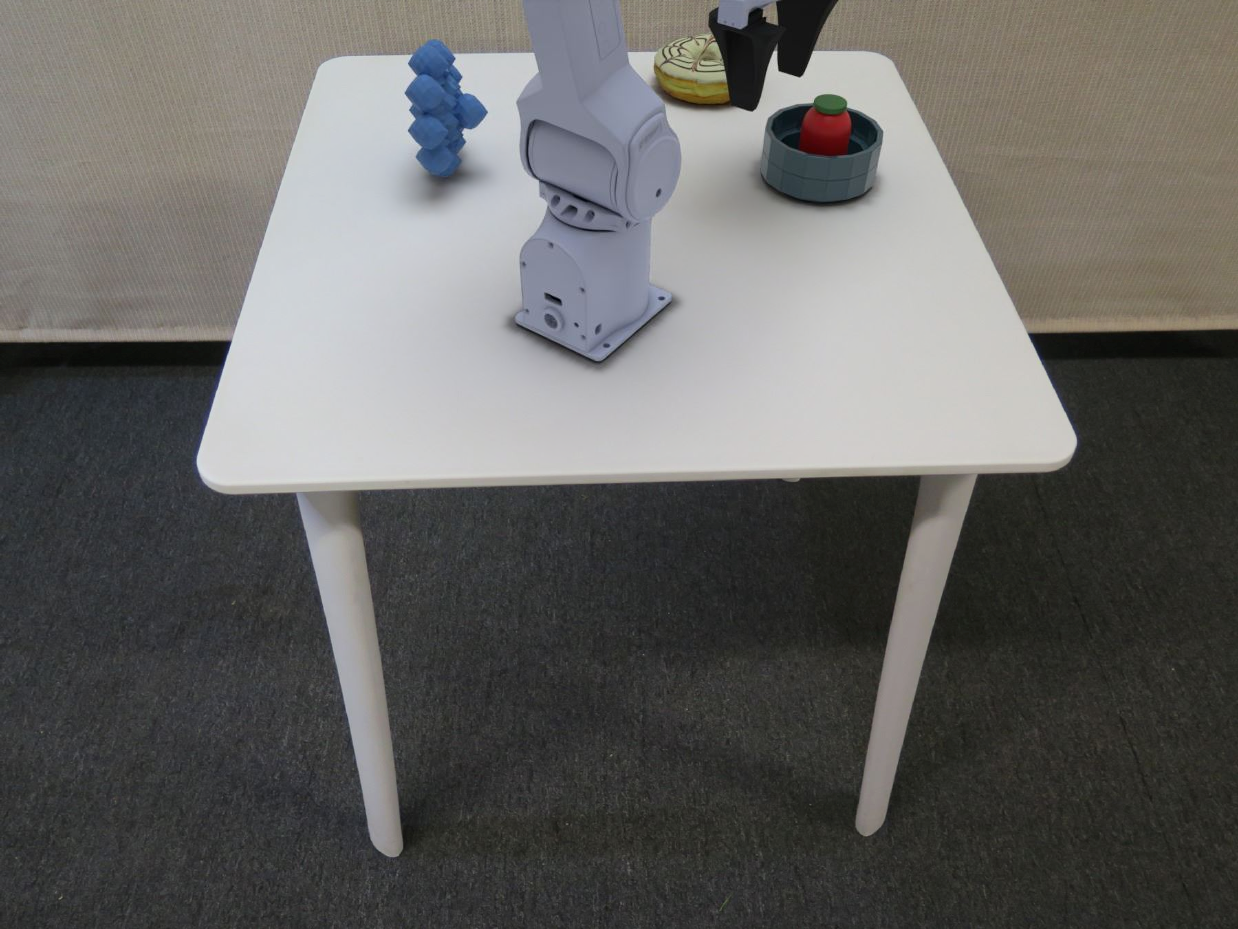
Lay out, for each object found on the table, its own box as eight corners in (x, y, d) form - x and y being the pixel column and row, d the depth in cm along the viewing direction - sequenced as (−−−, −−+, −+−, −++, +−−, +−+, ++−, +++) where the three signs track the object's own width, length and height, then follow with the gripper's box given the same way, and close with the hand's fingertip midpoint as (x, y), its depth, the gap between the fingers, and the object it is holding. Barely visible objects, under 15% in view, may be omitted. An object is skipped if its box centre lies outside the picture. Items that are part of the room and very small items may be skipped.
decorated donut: (767, 72, 103) (772, 36, 100) (741, 117, 96) (745, 79, 93) (672, 56, 106) (674, 20, 103) (640, 99, 98) (641, 61, 96)
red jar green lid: (829, 189, 86) (841, 117, 81) (786, 174, 88) (796, 103, 83) (850, 169, 88) (864, 98, 84) (809, 155, 90) (820, 85, 85)
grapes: (485, 210, 84) (471, 72, 75) (405, 208, 84) (383, 69, 75) (501, 143, 92) (490, 11, 83) (429, 141, 92) (411, 9, 84)
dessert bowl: (841, 219, 83) (850, 170, 80) (739, 182, 88) (744, 135, 84) (891, 171, 89) (902, 124, 86) (794, 138, 93) (800, 92, 90)
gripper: (790, -58, 64) (765, 138, 74) (886, -111, 73) (853, 71, 82) (698, -80, 67) (686, 111, 77) (802, -129, 75) (779, 49, 85)
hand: (767, 89), depth 80 cm, fingers open, 7 cm apart
